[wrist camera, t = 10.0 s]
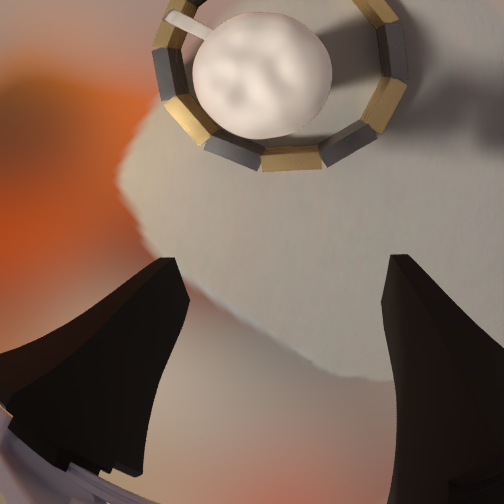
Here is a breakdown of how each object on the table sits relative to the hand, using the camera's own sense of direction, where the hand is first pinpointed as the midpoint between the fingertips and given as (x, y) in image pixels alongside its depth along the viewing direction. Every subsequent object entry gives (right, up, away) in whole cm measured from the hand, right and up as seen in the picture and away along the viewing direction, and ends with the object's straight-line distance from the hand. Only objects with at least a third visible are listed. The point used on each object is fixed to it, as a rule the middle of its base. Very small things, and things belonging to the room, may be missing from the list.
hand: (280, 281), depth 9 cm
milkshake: (+1, +11, +5) cm, 13 cm away
